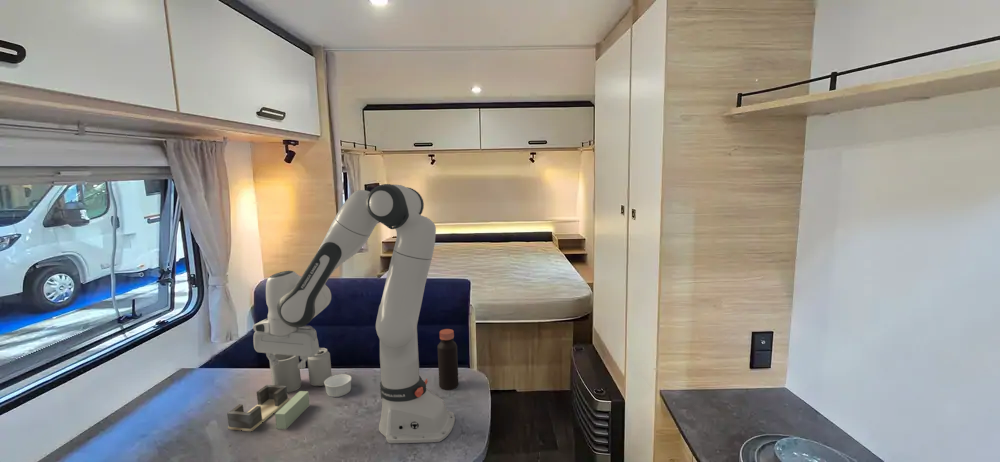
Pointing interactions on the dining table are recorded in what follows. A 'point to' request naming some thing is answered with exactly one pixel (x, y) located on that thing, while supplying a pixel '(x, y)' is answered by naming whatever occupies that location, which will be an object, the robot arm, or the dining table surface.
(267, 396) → the grey and cream cradle
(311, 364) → the can
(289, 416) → the slat
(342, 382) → the ramekin
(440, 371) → the bottle
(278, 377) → the cup
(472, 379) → the dining table surface
